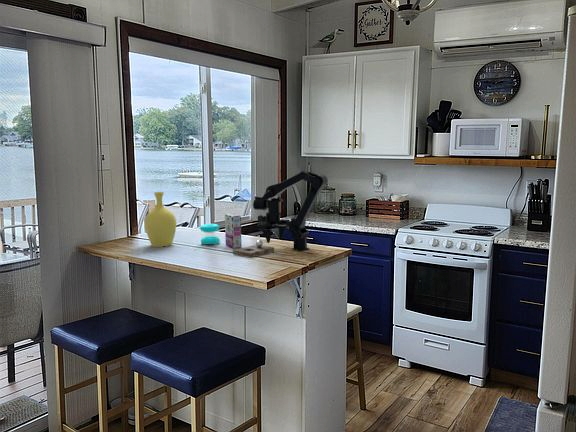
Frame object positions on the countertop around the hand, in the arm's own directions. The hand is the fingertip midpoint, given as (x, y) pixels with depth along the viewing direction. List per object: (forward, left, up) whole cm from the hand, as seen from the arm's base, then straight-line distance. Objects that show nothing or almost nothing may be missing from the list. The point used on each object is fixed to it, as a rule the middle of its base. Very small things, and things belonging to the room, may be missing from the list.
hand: (274, 241), depth 251 cm
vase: (+30, -54, -3) cm, 62 cm away
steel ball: (+11, 0, 0) cm, 11 cm away
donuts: (+12, -36, -4) cm, 38 cm away
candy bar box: (+10, -20, -4) cm, 22 cm away
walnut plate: (+15, 0, -3) cm, 15 cm away
